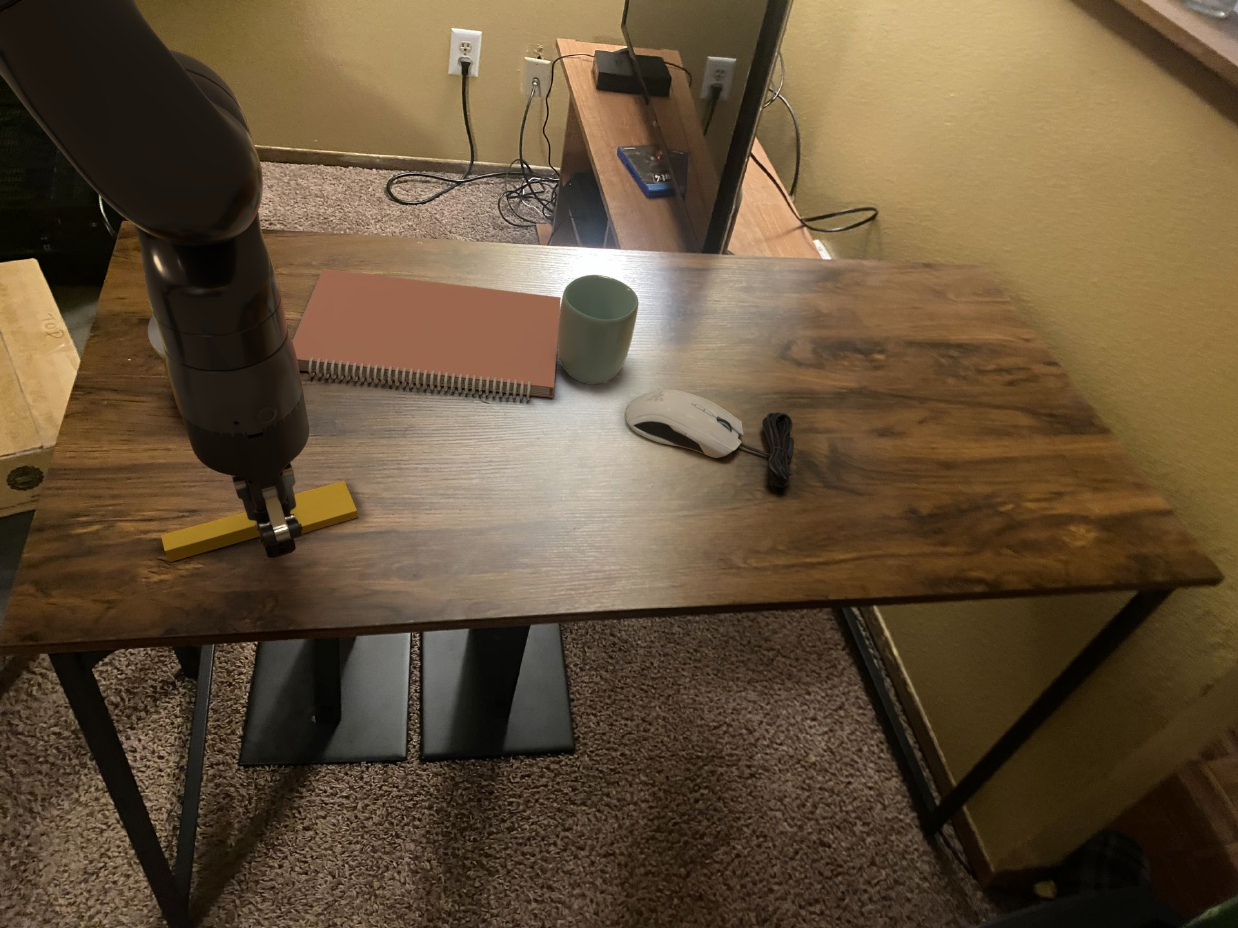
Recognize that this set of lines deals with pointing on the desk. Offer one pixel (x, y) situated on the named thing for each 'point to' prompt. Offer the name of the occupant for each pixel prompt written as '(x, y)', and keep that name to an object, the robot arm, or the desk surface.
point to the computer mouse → (708, 428)
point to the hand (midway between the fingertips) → (280, 548)
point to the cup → (596, 327)
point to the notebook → (429, 334)
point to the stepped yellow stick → (310, 511)
